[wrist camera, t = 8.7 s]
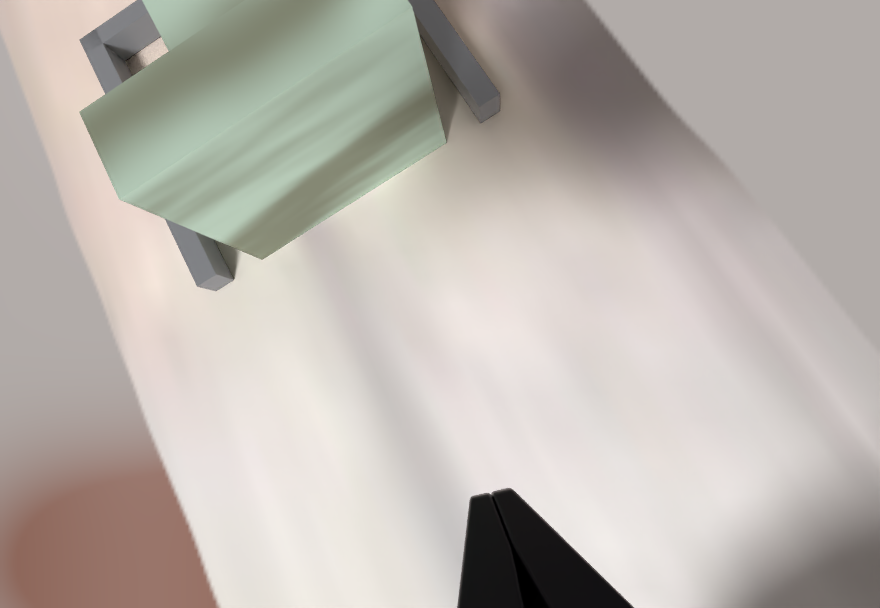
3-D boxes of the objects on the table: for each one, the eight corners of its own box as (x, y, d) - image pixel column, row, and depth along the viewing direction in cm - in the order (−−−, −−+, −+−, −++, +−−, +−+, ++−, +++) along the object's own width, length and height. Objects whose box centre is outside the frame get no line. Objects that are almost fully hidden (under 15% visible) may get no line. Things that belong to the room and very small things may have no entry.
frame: (499, 111, 23) (499, 93, 21) (216, 291, 24) (197, 286, 22) (346, -109, 26) (336, -137, 25) (102, 57, 27) (79, 39, 26)
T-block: (446, 142, 23) (412, 6, 14) (262, 259, 24) (119, 199, 15) (328, -38, 26) (237, -248, 17) (165, 72, 26) (-6, -74, 17)
